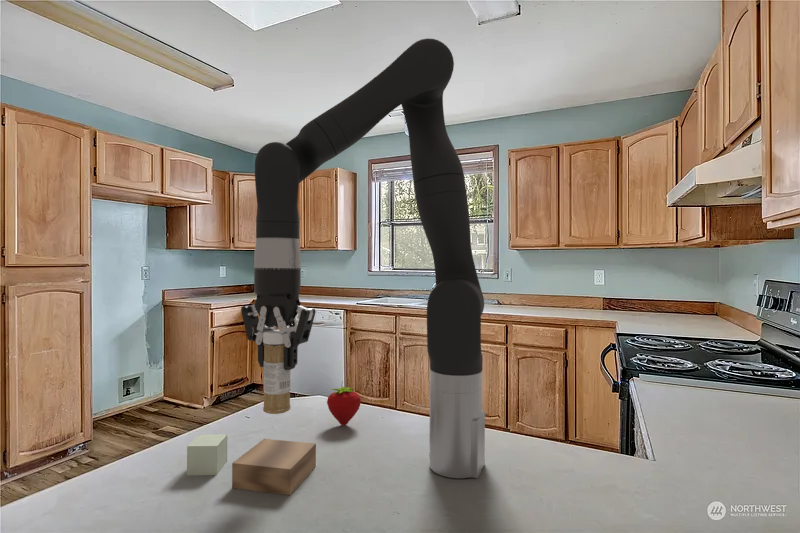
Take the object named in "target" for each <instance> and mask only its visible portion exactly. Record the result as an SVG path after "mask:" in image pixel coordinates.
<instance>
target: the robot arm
mask: <svg viewBox="0 0 800 533" xmlns="http://www.w3.org/2000/svg"><path fill="white" fill-rule="evenodd" d="M454 66H455V62H454V56H453V54H452V51H451V50H450V48H449V47H448V46H447V44H445V43H444V42H442V41H441V40H439V39H435V38H429V37H428V38H421V39H419V40H417V41H415V42H414V43H412V44H411V45H410V46H409V47H407V49H406V50H404V51H403V52H402V53H401V54H400V55H399V56H397V58H396V59H395V60H393V62H391V63H390V64H389V65H388V66H387V67H386V68H385V69H384V70H382V71H381V72H380V73H378V74H377V75H376V76H374V77H373V78H372V79H371V80H370V81H369V82H367V83H366V84H364V85H363V86H362V87H361V88H360V87H359V89H358V90H356V91H355V92H354V93H352V94H351V95H349V96H347V97H346V98H344V99H343V100H342V101H340V102H339V103H337V104H335V105H334V106H332V107H330V108H329V109H328V110H326V111H325V112H323V113H321V114H319V115H317V117H315V118H313V119H312V120H310V121H308V122H307V123H306V124H304V126H302V127H301V128H300V130H299V132H298V134H297V135H296V136H295V137H294V138H292V139H290V140H289V141H288V142H286V143H284V142H279V141H274V142H268V143H266V144H265V145H263V146H262V147H261V148H260V149H259V150H258V152H257V153H256V156H255V159H254V181H255V182H254V183H255V195H256V196H255V197H256V204H257V206H256V219H255V222H256V224H255V226H256V227H255V238H256V239H255V246H254V254H253V255H254V259H253V261H254V263H253V264H254V265H253V266H254V268H253V276H254V277H253V278H254V279H253V289H254V290H253V293H254V294H255V295H256V299H255V301H254V303H253V304H251V305H244V306H241V308H240V312H241V316H242V319H243V320H242V321H243V326H244V329H245V334H246V337H247V340H248V341H253V342H254V343H255V344H256V345H257V362H258V364H259V367H260V368H264V343H263V333H264V332H265V331H269V330H276V328H278V329H279V332H280V334H281V335H282V336H283V340H284V344H285V348H284V369H285V370H294V369H295V368H296V366H297V365H298V353H299V352H298V347H299V346H300V344H301V345H302V344H304V343H308V342H309V338H310V335H311V330H312V328H313V324H314V319H315V315H316V309H315V308H314V307H310V308H307V307H306V306H303V305H302V303H301V300H300V299H299V298H300V297H299V295H300V293H301V285H302V284H301V281H302V280H301V279H302V278H301V275H302V273H301V272H302V270H301V265H302V264H301V262H302V261H301V258H302V257H301V256H302V254H301V252H302V251H301V245H300V213H299V207H298V205H299V204H298V203H299V202H298V201H299V186H300V185H299V184H300V183H301V182H303V181H305V179H307V178H308V177H309V176H310V175H312V174H313V173H314V172H315V171H316V170H317V169H319V168H320V167H321V166H322V165H324V164H325V163H327V162H328V161H330V160H332V159H333V158H335V157H337V156H338V155H340V154H341V153H342V152H344V151H346V150H347V149H349V148H350V147H352V146H353V145H355V144H356V143H357V142H358V141H360V140H361V139H362V138H364V137H365V136H366V135H367V134H368V133H369V132H370V131H371V130H372V129H373V128H374V127H376V126H377V125H378V124H379V123H380V122H381V121H382V120H383V119H384V118H385V117H387V115H389V114H390V113H391V112H393V111H394V110H396V109H397V108H398V107H399V106H401V108H402V111H403V115H404V120H405V123H406V128H407V134H408V141H409V152H410V154H409V156H410V165H411V171H412V181H413V188H414V189H413V190H414V195H415V202H416V208H417V212H418V216H419V220H420V222H421V225H422V228H423V231H424V233H425V236H426V239H427V242H428V244H429V247H430V249H431V250H430V251H431V253H432V254H431V255H432V258H433V265H434V274H435V275H434V276H435V287H434V288H432V290H431V292H430V293H429V295H428V298H427V304H426V339H427V340H426V343H427V344H426V346H427V354H428V358H429V451H428V453H429V455H428V456H429V468H430V469H431V470H432V471H433V472H434V473H435V474H437V475H439V476H442V477H446V478H450V479H466V478H475V479H479V477H480V475H481V472H482V471H483V468H484V466H485V463H486V460H485V457H486V456H485V452H486V450H485V449H486V447H485V444H486V436H485V435H486V434H485V433H486V412H485V410H483V362H484V361H483V353H482V315H483V314H484V313H483V312H484V309H485V297H484V294H483V291H482V287H481V284H480V281H479V277H478V273H477V269H476V264H475V260H474V257H473V252H472V250H473V249H472V242H471V224H470V223H471V222H470V211H469V203H468V193H467V187H466V181H465V173H464V168H463V166H462V161H461V160H460V157H459V155H458V153H457V151H456V149H455V146H454V145H453V143H452V141H451V139H450V137H449V134H448V131H447V128H446V123H445V113H444V91H445V90H446V88H447V86H448V85H449V83H450V82H451V79H452V76H453V72H454ZM296 318H297V319H298V321H297V320H296ZM297 322H298V323H297ZM290 333H291V336H290Z"/></svg>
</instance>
